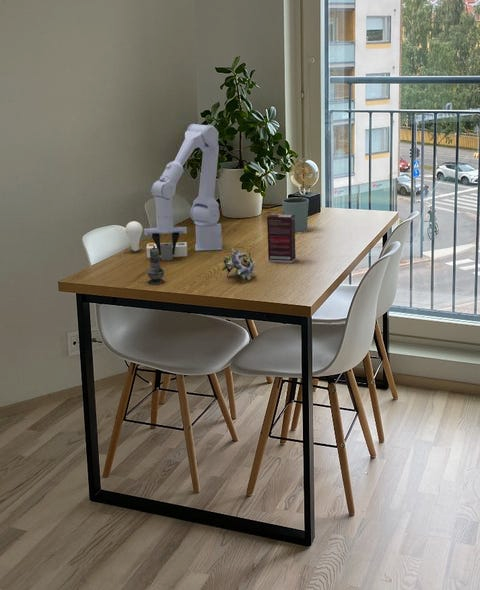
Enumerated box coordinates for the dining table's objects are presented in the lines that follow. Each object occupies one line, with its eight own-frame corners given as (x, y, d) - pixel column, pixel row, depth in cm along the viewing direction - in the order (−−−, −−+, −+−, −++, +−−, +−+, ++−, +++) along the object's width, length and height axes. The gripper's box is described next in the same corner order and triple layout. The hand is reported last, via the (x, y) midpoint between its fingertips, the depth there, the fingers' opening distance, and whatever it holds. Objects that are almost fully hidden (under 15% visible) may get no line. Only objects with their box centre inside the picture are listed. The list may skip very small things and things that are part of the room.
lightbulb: (141, 253, 318) (139, 223, 315) (124, 253, 319) (122, 223, 316) (146, 249, 324) (144, 219, 320) (130, 249, 325) (127, 219, 322)
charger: (172, 255, 314) (172, 241, 312) (172, 259, 309) (172, 245, 307) (161, 256, 314) (160, 241, 312) (161, 260, 308) (160, 245, 307)
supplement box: (296, 259, 304) (295, 214, 299) (292, 263, 300) (291, 217, 295) (271, 258, 307) (270, 213, 302) (267, 262, 302) (266, 216, 298)
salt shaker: (147, 279, 286) (144, 243, 283) (165, 278, 287) (163, 242, 283) (146, 285, 281) (144, 248, 277) (165, 284, 281) (163, 247, 278)
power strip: (187, 251, 319) (186, 240, 317) (187, 256, 313) (186, 244, 312) (147, 253, 318) (147, 241, 317) (147, 257, 312) (146, 246, 311)
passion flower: (248, 296, 285) (244, 273, 275) (217, 287, 288) (212, 264, 278) (261, 269, 290) (258, 246, 281) (231, 261, 294) (227, 237, 284)
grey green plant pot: (313, 229, 346) (313, 198, 342) (301, 234, 338) (300, 203, 334) (290, 226, 351) (290, 196, 348) (277, 232, 343) (277, 201, 340)
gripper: (142, 219, 302) (145, 258, 306) (185, 217, 302) (187, 256, 306) (143, 214, 308) (146, 252, 312) (185, 213, 309) (187, 251, 313)
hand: (166, 254), depth 310 cm, fingers closed on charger, 4 cm apart
